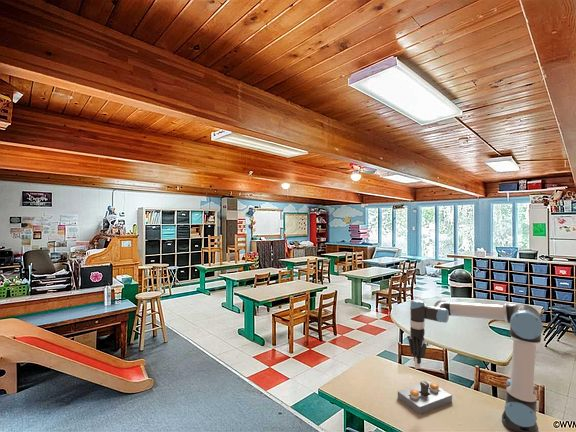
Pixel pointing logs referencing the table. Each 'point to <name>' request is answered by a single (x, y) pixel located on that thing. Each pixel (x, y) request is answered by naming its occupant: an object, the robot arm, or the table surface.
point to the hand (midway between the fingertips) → (417, 368)
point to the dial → (424, 388)
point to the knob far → (434, 387)
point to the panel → (424, 399)
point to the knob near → (414, 394)
